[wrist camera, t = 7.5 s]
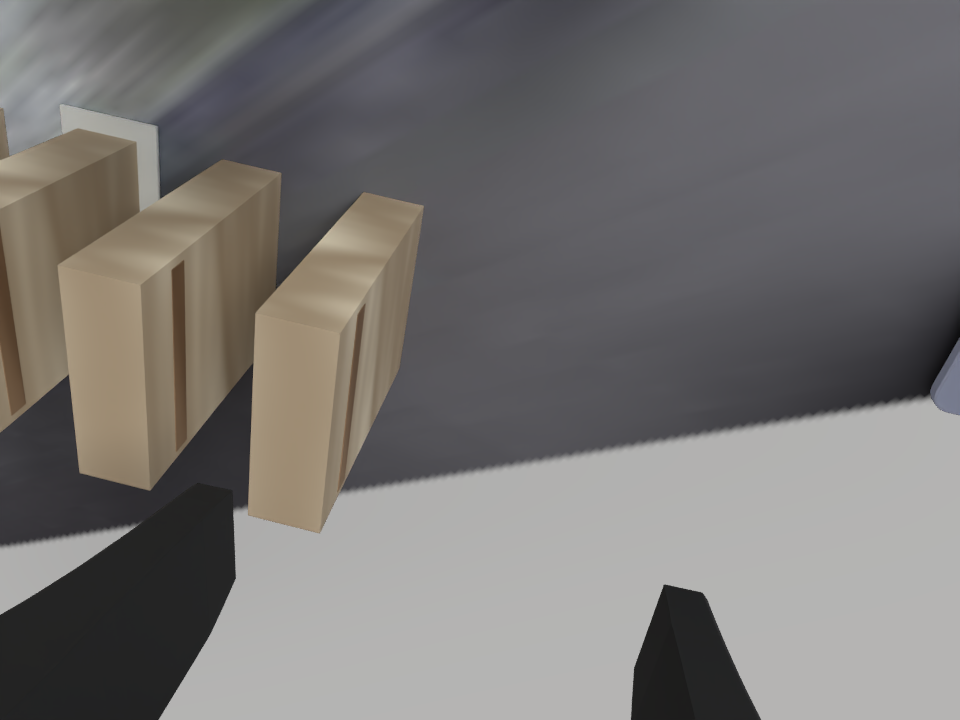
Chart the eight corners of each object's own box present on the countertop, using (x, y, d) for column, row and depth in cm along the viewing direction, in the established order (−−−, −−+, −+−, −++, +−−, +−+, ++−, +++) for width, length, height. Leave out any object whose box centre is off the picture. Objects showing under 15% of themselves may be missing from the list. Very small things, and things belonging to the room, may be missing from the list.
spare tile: (137, 141, 21) (-63, 241, 15) (145, 309, 23) (-22, 452, 17) (77, 127, 21) (-147, 220, 15) (91, 297, 23) (-94, 434, 17)
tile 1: (425, 206, 20) (341, 333, 14) (400, 368, 23) (320, 533, 17) (363, 192, 20) (254, 312, 14) (345, 355, 23) (247, 514, 17)
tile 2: (282, 173, 21) (141, 285, 15) (273, 337, 23) (150, 491, 17) (221, 158, 21) (56, 264, 15) (219, 325, 23) (78, 472, 17)
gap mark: (158, 126, 20) (156, 127, 20) (164, 327, 23) (162, 328, 23) (61, 103, 20) (59, 104, 20) (80, 307, 24) (78, 308, 23)
